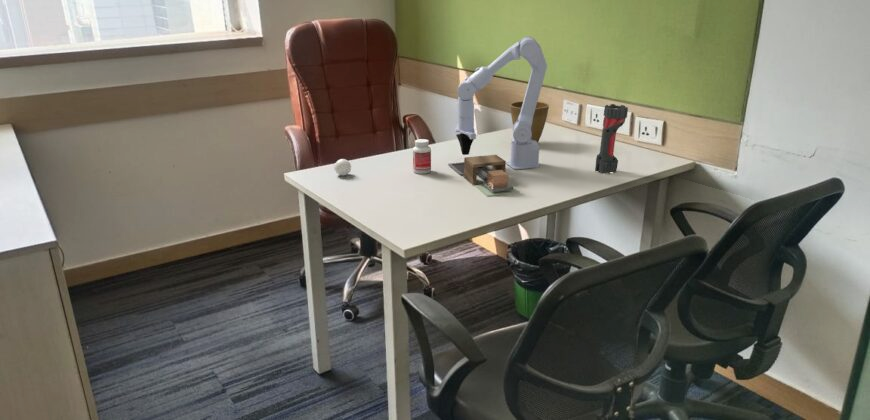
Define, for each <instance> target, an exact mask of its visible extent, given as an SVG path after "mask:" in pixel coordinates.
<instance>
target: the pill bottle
mask: <svg viewBox="0 0 870 420" xmlns="http://www.w3.org/2000/svg"><path fill="white" fill-rule="evenodd" d="M429 142H430V141H429V139H425V138H421V139H420V138H419V139H416V140H414V145H415V146H414V147H413V148H412V167H413V169H412V170H413V172H414V173H415V174H419V175H426V174H429V173H431V171H432V149H431V147H430V146H429V144H430V143H429Z"/></svg>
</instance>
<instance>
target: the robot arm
mask: <svg viewBox="0 0 870 420" xmlns="http://www.w3.org/2000/svg"><path fill="white" fill-rule="evenodd" d="M521 57H522V58H523V59H524V60H525V61H527V62H528V64H529V66H530V67H531V72H530V75H529V79H528V83H527V86H526V91H525V93H524V98H523V104H522V108H521V112H520V114H519V117H518V120H517V121H516V122H515V124H514V125H513V124H512V133H513V134H512V137H513V138H512V139H511V140H510V141H511V142H510V146H511V147H510V161H506V166H507V165H508V166H509V167H511V168H512V169H514V170H523V169H524V170H525V169H535V168H539V167H540V165H539V157H540V147H539V146H540V145H539V142H538V143H537V141H535V140H532V139H531V136H532V132H531V126H532V121H533V115H534V112H535V108H536V105H537V102H539V97H540V94H541V89H542V86H543V84H544V83H543V82H544V80H545V76H546V72H547V69H548V64H547V61H546V58H545V56H544V53H543V49H542V47H541V45H540V44H539V43H538V41H537V40H536V39H535V37H532V36H525V37H522V38H521V39H520V40H519V41H517V42H515V43H514V44H512V45H511V46H510V47H508V48H507V49H505V51H503V52H502V54H500V55H499V56H498V57H497V58H496V59H495V60H494V61H493V62H491V63H490V64H489V65H488V66H483V65H482V66H480V67H476V68H475V71H474V73H472V74H470V75H469V76H466V77H464V80H463V81H462V82H460V83H459V84H458V87H457V88H456V89H457V90H456V93H457V96H458V97H457V124H455V128H454V132H455V133H457V134H456V138H457V140H458V142H459V146H460V150H461V154H462V155H463V156H465V155H470V151H471V146H472V144H473V142H474V140H476V138H477V133H476V132H475V128H474V127H475V123H474V122H475V103H474V97H475V96H474V95H475V93H476V92H479V91H480V90H482V89H483V88H485V86H487V85H488V84H489V83H490V82H492V81H493V79H494V78H493V77H494V74H495V73H497V72H498V71H499V70H501V69H502V68H503V67H505V66H506V65H507V64H509V63H510V62H511V61H514V60H521Z"/></svg>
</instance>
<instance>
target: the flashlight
mask: <svg viewBox="0 0 870 420" xmlns="http://www.w3.org/2000/svg"><path fill="white" fill-rule="evenodd" d="M628 109H629V108H628V107H627V106H626V105H624V104H623V105H622V104H621V105H616V104H615V103H611V104H609V105H608V104H606V105H604V111H603V116H604V117H603V121H602V129H601V131H602V132H601V140H600V147H599V148H600V149H599V153H598V154H597V155H596V159H595V167H594V171H595V172H596V171H599V172H598V173H601V174H603V173H605V174H606V173H609V172H614V171H616V170H618V164H619V159H618V158H617V157H616V156H615V155H614V149H615V143H616V136H617V135H616V134H617V131H618V130H619V129H620V128H621V127H622V126H623V125H624V124H625V122H626V119H627V118H628V113H629V111H628ZM616 172H617V171H616ZM614 173H615V172H614Z"/></svg>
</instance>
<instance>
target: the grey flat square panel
mask: <svg viewBox="0 0 870 420" xmlns="http://www.w3.org/2000/svg"><path fill="white" fill-rule="evenodd" d="M447 166H448V167H449V168H451V169H452V170H453V171H454V172H455V173H456V174H458V175H460V177H464V161H461V162H453V163H448V165H447ZM481 169H482V170H483V171H484V172H486V173H487V171H492V168H491V167H489V166H483V168H481Z"/></svg>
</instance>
